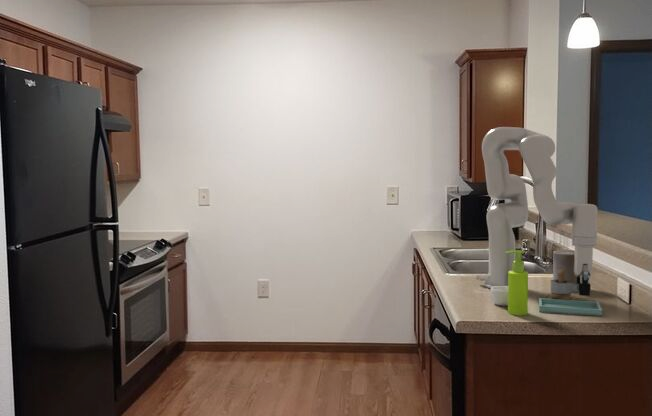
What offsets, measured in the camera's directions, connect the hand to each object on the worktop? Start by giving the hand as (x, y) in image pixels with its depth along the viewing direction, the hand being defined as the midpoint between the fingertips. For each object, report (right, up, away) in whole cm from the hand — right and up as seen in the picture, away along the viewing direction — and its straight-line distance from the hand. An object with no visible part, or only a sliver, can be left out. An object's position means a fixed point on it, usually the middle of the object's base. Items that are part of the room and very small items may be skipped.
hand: (583, 291), depth 189 cm
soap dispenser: (-26, -5, -10) cm, 28 cm away
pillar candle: (+4, -2, +22) cm, 22 cm away
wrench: (-4, 0, +1) cm, 4 cm away
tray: (-8, -5, -7) cm, 12 cm away
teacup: (-27, -4, +2) cm, 27 cm away
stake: (-6, -4, +3) cm, 8 cm away
